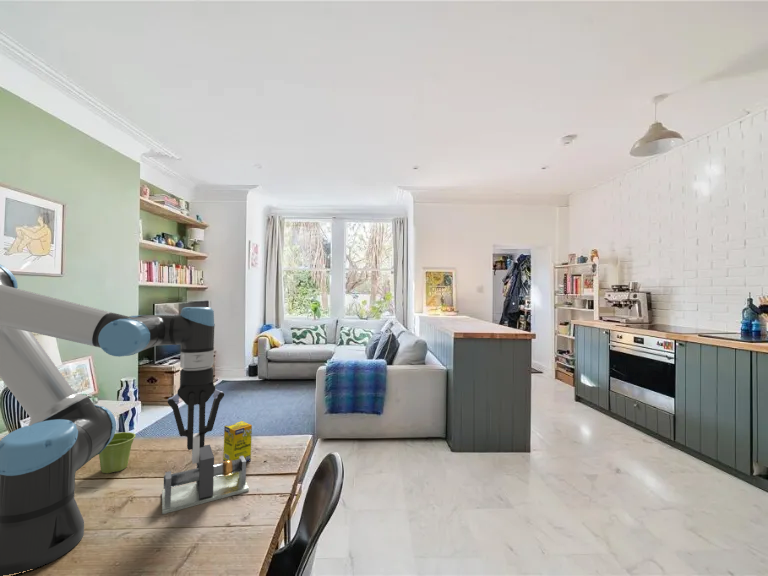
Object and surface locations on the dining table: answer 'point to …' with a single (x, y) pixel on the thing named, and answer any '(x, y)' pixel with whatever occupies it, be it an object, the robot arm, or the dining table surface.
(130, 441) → the plant pot
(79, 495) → the dining table surface
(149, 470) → the dining table surface
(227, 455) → the supplement box
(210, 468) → the grey slider block
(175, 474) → the pipe jig
